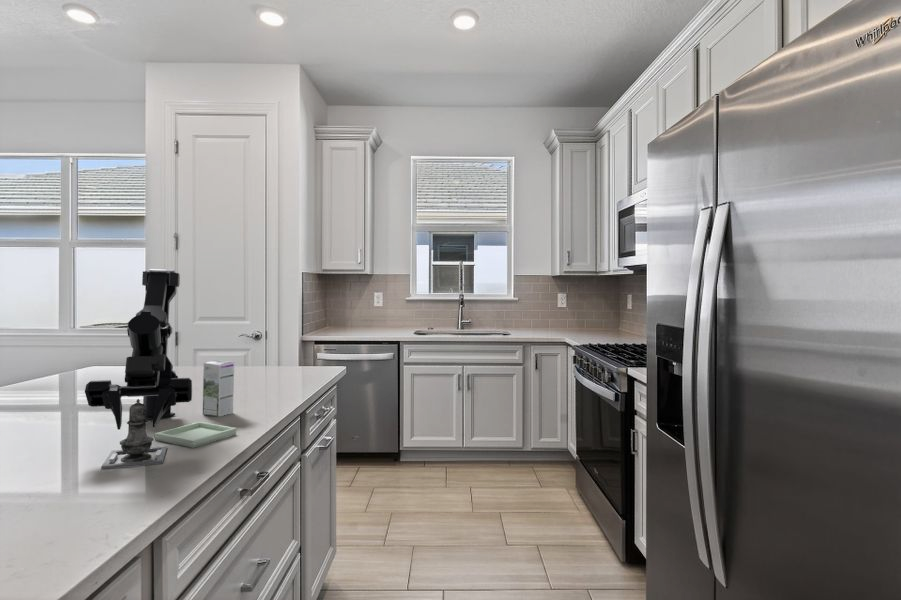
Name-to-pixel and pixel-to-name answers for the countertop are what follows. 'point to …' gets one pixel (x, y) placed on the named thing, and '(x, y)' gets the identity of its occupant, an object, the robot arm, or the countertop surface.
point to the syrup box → (218, 388)
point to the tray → (195, 434)
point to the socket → (114, 454)
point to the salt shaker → (136, 435)
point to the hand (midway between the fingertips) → (136, 427)
